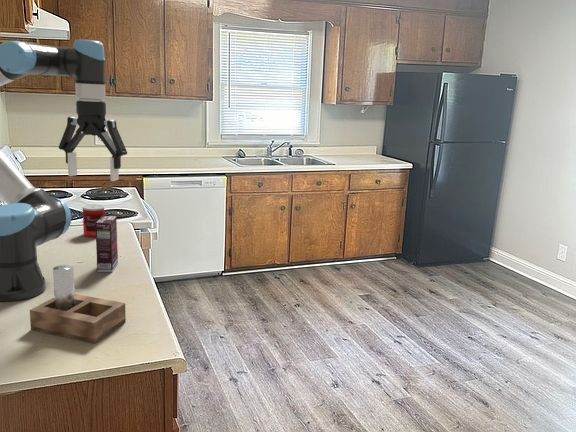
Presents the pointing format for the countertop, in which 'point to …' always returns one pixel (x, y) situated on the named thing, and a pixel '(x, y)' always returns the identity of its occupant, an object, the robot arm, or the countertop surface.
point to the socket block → (79, 318)
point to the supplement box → (106, 244)
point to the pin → (64, 287)
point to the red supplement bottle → (91, 218)
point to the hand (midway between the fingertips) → (93, 178)
